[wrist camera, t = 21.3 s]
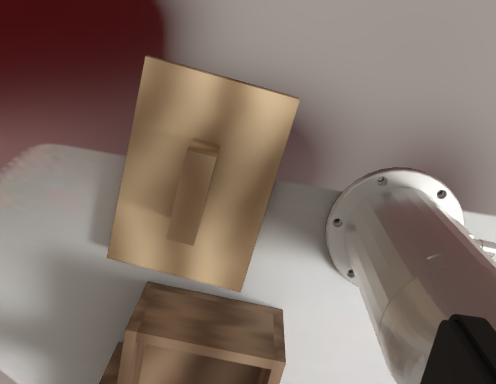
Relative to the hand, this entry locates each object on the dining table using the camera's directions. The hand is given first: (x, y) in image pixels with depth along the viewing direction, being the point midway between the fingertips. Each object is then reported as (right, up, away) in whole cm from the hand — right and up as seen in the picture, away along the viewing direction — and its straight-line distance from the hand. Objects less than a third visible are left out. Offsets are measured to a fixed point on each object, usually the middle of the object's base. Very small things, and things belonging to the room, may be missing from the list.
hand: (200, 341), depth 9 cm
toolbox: (-4, -17, +42) cm, 45 cm away
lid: (-4, +4, +35) cm, 35 cm away
